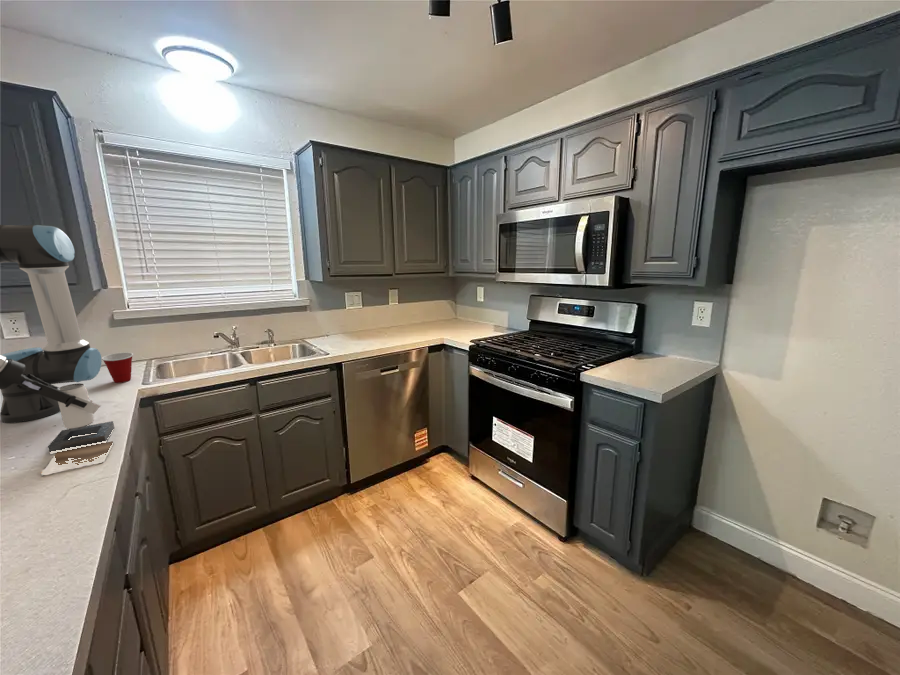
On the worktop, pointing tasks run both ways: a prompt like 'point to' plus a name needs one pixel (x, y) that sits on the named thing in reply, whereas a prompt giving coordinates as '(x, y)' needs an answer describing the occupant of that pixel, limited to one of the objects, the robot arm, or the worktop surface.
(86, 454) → the walnut pad
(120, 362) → the plastic cup
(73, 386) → the can
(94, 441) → the steel collar
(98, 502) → the worktop surface
